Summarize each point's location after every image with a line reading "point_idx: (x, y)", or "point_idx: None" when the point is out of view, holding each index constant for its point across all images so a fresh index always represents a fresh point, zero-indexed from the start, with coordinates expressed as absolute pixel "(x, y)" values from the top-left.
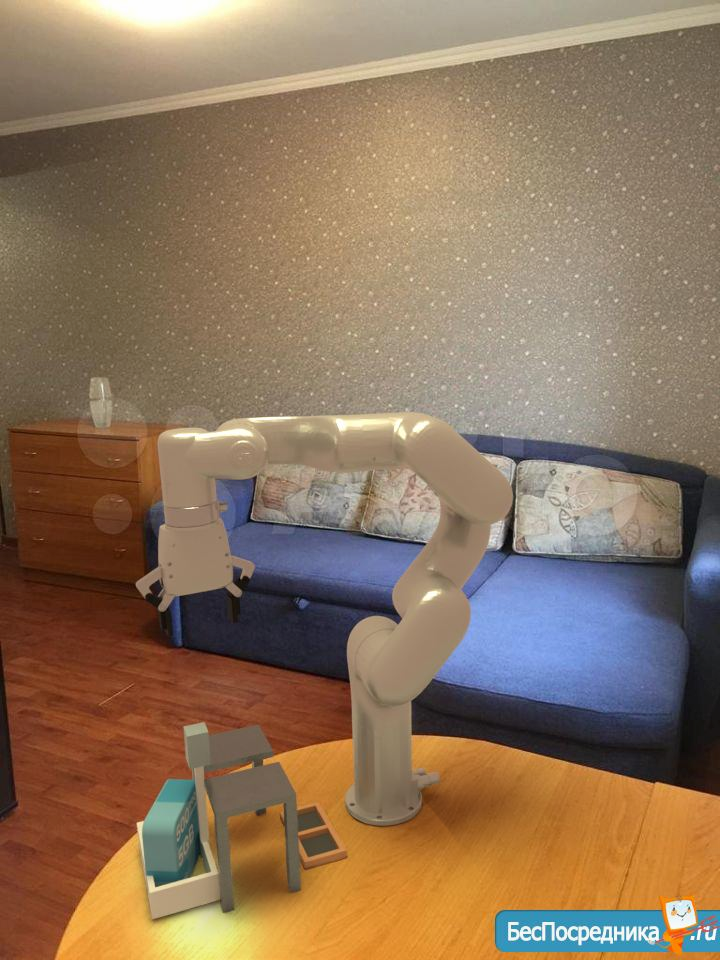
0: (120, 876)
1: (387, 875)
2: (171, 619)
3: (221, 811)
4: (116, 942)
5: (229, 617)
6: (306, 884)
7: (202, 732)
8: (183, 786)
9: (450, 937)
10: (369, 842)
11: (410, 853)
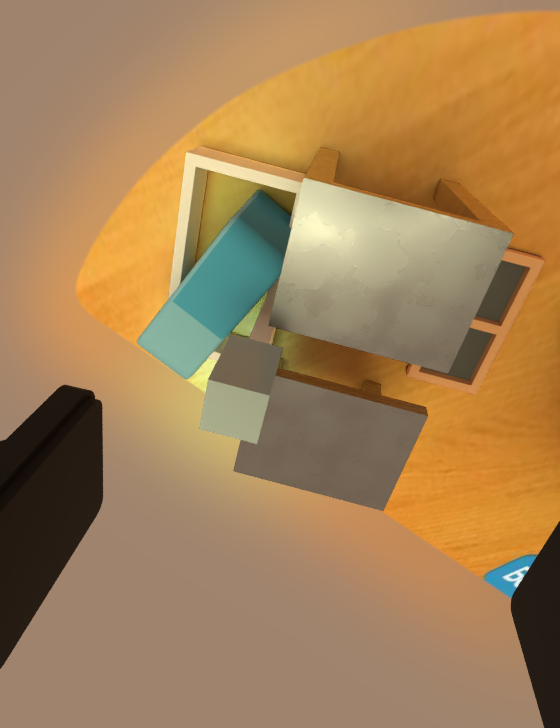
0: (157, 199)
1: (487, 446)
2: (36, 607)
3: (244, 471)
4: (128, 326)
5: (555, 540)
6: (388, 393)
7: (242, 437)
8: (240, 287)
9: (459, 544)
10: (527, 383)
11: (550, 436)
